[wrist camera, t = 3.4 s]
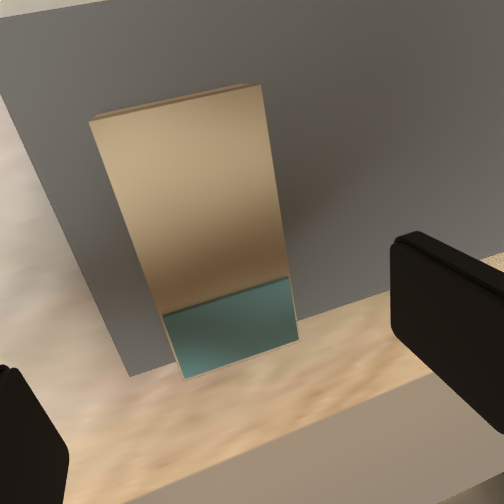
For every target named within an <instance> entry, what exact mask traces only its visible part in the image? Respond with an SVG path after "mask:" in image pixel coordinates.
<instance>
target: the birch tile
mask: <svg viewBox="0 0 504 504" xmlns="http://www.w3.org/2000/svg"><path fill="white" fill-rule="evenodd" d="M89 125H90V128H91V130H92V133H93V136H94V139H95V141H96V144H97V147H98V149H99V152H100V155H101V158H102V160H103V163H104V166H105V169H106V171H107V174H108V177H109V179H110V182H111V185H112V188H113V190H114V193H115V196H116V199H117V201H118V204H119V207H120V209H121V212H122V215H123V218H124V220H125V223H126V226H127V229H128V231H129V234H130V237H131V239H132V242H133V245H134V248H135V250H136V253H137V256H138V259H139V261H140V264H141V267H142V269H143V272H144V275H145V278H146V280H147V283H148V286H149V289H150V291H151V294H152V297H153V299H154V302H155V305H156V308H157V310H158V313H159V316H160V319H161V321H162V324H163V327H164V329H165V332H166V335H167V338H168V340H169V343H170V346H171V349H172V351H173V354H174V357H175V359H176V362H177V365H178V368H179V370H180V373H181V376H182V379H183V381H184V382H185V381H188V380H191V379H193V378H196V377H199V376H202V375H205V374H208V373H211V372H214V371H217V370H219V369H222V368H225V367H228V366H231V365H234V364H237V363H240V362H243V361H246V360H248V359H251V358H254V357H257V356H260V355H263V354H266V353H269V352H272V351H274V350H277V349H280V348H283V347H286V346H289V345H292V344H295V343H298V342H300V337H299V331H298V324H297V318H296V311H295V305H294V298H293V291H292V285H291V278H290V272H289V265H288V259H287V252H286V246H285V239H284V233H283V226H282V220H281V213H280V207H279V200H278V193H277V187H276V180H275V174H274V167H273V161H272V154H271V148H270V141H269V135H268V128H267V122H266V115H265V109H264V102H263V95H262V89H261V85H257V84H236V85H232V86H227V87H222V88H218V89H213V90H208V91H204V92H199V93H194V94H190V95H185V96H180V97H176V98H171V99H166V100H162V101H157V102H152V103H148V104H143V105H138V106H134V107H129V108H124V109H120V110H115V111H110V112H106V113H101V114H97V115H96V116H94V117H93V118H92V119H91V120H90V121H89Z"/></svg>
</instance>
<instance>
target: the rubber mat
mask: <svg viewBox="0 0 504 504" xmlns="http://www.w3.org/2000/svg"><path fill="white" fill-rule="evenodd" d="M236 84H257V85H261V89H262V95H263V102H264V109H265V115H266V122H267V128H268V135H269V141H270V148H271V154H272V161H273V167H274V174H275V180H276V187H277V193H278V200H279V207H280V213H281V220H282V226H283V233H284V239H285V246H286V252H287V259H288V265H289V272H290V278H291V285H292V291H293V298H294V305H295V311H296V318H297V321H298V320H301V319H304V318H307V317H310V316H313V315H316V314H319V313H322V312H325V311H328V310H331V309H334V308H337V307H340V306H343V305H346V304H349V303H352V302H355V301H358V300H361V299H364V298H367V297H370V296H373V295H376V294H379V293H382V292H385V291H388V290H390V246H391V245H392V244H394V240H395V238H397V237H398V236H401V235H404V234H407V233H410V232H414V231H421V232H423V233H425V234H427V235H429V236H431V237H433V238H435V239H437V240H439V241H441V242H443V243H445V244H447V245H449V246H451V247H453V248H455V249H457V250H459V251H461V252H463V253H465V254H467V255H469V256H471V257H473V258H475V259H477V260H480V259H483V258H486V257H489V256H492V255H495V254H498V253H501V252H504V0H108V1H101V2H95V3H89V4H83V5H77V6H71V7H65V8H59V9H53V10H47V11H41V12H35V13H29V14H23V15H17V16H11V17H4V18H0V94H1V96H2V98H3V101H4V103H5V105H6V107H7V109H8V112H9V114H10V116H11V118H12V120H13V123H14V125H15V127H16V129H17V131H18V133H19V136H20V138H21V140H22V142H23V144H24V147H25V149H26V151H27V153H28V155H29V158H30V160H31V162H32V164H33V166H34V169H35V171H36V173H37V175H38V177H39V179H40V182H41V184H42V186H43V188H44V190H45V193H46V195H47V197H48V199H49V201H50V204H51V206H52V208H53V210H54V212H55V214H56V217H57V219H58V221H59V223H60V225H61V228H62V230H63V232H64V234H65V236H66V239H67V241H68V243H69V245H70V247H71V249H72V252H73V254H74V256H75V258H76V260H77V263H78V265H79V267H80V269H81V271H82V274H83V276H84V278H85V280H86V282H87V285H88V287H89V289H90V291H91V293H92V295H93V298H94V300H95V302H96V304H97V306H98V309H99V311H100V313H101V315H102V317H103V320H104V322H105V324H106V326H107V328H108V330H109V333H110V335H111V337H112V339H113V341H114V344H115V346H116V348H117V350H118V352H119V355H120V357H121V359H122V361H123V363H124V366H125V368H126V370H127V372H128V374H129V376H130V377H131V376H134V375H137V374H140V373H143V372H146V371H149V370H152V369H155V368H158V367H161V366H164V365H167V364H170V363H173V362H176V359H175V357H174V354H173V351H172V349H171V346H170V343H169V340H168V338H167V335H166V332H165V329H164V327H163V324H162V321H161V319H160V316H159V313H158V310H157V308H156V305H155V302H154V299H153V297H152V294H151V291H150V289H149V286H148V283H147V280H146V278H145V275H144V272H143V269H142V267H141V264H140V261H139V259H138V256H137V253H136V250H135V248H134V245H133V242H132V239H131V237H130V234H129V231H128V229H127V226H126V223H125V220H124V218H123V215H122V212H121V209H120V207H119V204H118V201H117V199H116V196H115V193H114V190H113V188H112V185H111V182H110V179H109V177H108V174H107V171H106V169H105V166H104V163H103V160H102V158H101V155H100V152H99V149H98V147H97V144H96V141H95V139H94V136H93V133H92V130H91V128H90V125H89V121H90V120H91V119H92V118H93V117H94V116H96V115H97V114H101V113H106V112H110V111H115V110H120V109H124V108H129V107H134V106H138V105H143V104H148V103H152V102H157V101H162V100H166V99H171V98H176V97H180V96H185V95H190V94H194V93H199V92H204V91H208V90H213V89H218V88H222V87H227V86H232V85H236Z"/></svg>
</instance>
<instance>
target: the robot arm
mask: <svg viewBox="0 0 504 504" xmlns="http://www.w3.org/2000/svg"><path fill="white" fill-rule="evenodd" d="M390 307H391V328H392V331H393V333H394V334H395V336H396V337H397V338H398V339H399V340H400V341H401V342H402V343H403V344H404V345H405V346H407V347H408V348H409V349H410V350H411V351H412V352H413V353H414V354H415V355H416V356H417V357H418V358H419V359H420V360H422V361H423V362H424V363H425V364H426V365H427V366H428V367H429V368H430V369H431V370H432V371H433V372H434V373H435V374H437V375H438V376H439V377H440V378H441V379H442V380H443V381H444V382H445V383H447V385H448V386H449V387H450V388H452V389H453V390H454V391H455V392H456V393H457V394H458V395H459V396H460V397H461V398H462V399H463V400H464V401H465V402H466V403H468V404H469V405H470V406H471V407H472V408H473V409H474V410H475V411H476V412H477V413H478V414H479V415H481V416H482V417H483V418H484V419H485V420H486V421H487V422H488V423H489V424H490V425H491V426H492V427H493V428H494V429H496V430H497V431H498V432H500V433H502V434H504V272H502V271H500V270H497V269H495V268H493V267H491V266H489V265H487V264H485V263H483V262H481V261H479V260H477V259H475V258H473V257H471V256H469V255H467V254H465V253H463V252H461V251H459V250H457V249H455V248H453V247H451V246H449V245H447V244H445V243H443V242H441V241H439V240H437V239H435V238H433V237H431V236H429V235H427V234H425V233H423V232H421V231H414V232H410V233H407V234H404V235H401V236H398V237H397V238H395V240H394V244H392V245H391V246H390ZM68 466H69V452H68V448H67V446H66V444H65V442H64V441H63V439H62V438H61V436H60V434H59V433H58V431H57V430H56V428H55V426H54V425H53V423H52V422H51V420H50V419H49V417H48V415H47V414H46V412H45V411H44V409H43V407H42V406H41V404H40V403H39V401H38V399H37V398H36V396H35V395H34V393H33V391H32V390H31V388H30V387H29V385H28V384H27V382H26V380H25V379H24V377H23V376H22V374H21V372H20V371H19V370H18V369H17V368H11V369H10V368H9V367H8V366H6V365H0V504H63V498H64V492H65V485H66V479H67V473H68ZM438 504H504V472H503V473H501V474H499V475H497V476H495V477H492V478H490V479H488V480H486V481H484V482H482V483H480V484H478V485H476V486H474V487H472V488H470V489H467V490H465V491H463V492H461V493H459V494H457V495H455V496H453V497H451V498H449V499H447V500H445V501H442V502H440V503H438Z"/></svg>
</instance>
